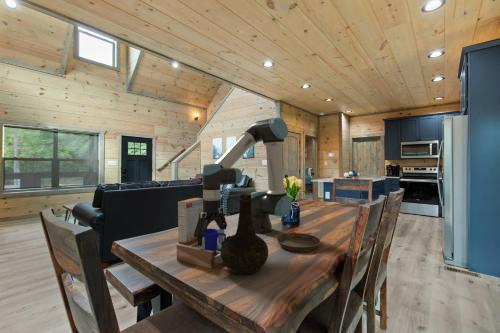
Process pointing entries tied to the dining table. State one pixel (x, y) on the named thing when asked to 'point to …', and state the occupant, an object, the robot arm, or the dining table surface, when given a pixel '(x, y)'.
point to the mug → (212, 239)
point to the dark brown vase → (244, 243)
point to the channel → (198, 256)
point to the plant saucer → (298, 241)
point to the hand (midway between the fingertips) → (211, 248)
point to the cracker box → (188, 218)
